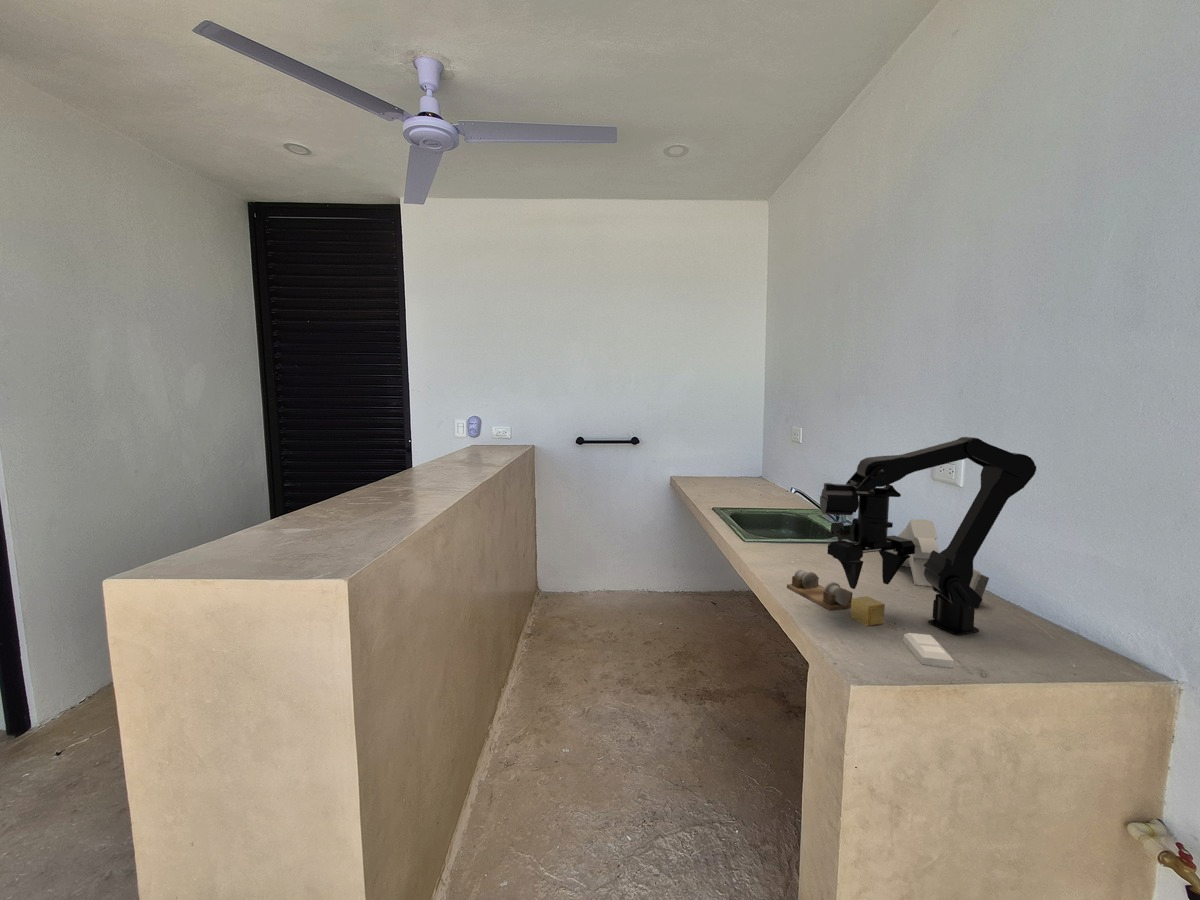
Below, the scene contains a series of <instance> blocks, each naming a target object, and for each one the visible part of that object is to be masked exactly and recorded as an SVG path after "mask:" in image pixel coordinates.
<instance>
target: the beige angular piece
mask: <svg viewBox="0 0 1200 900" xmlns="http://www.w3.org/2000/svg"><path fill="white" fill-rule="evenodd" d="M897 536H898V537H901V538H905V539H908V540H912V542H913V543H914V545H915V554H909V555H910V558H907V559H906V561H905V562H904V563H903V564H902V566H905V567H904V568H909V567H910V570H911V574H912V579H913V585H914V586H920V585H921V587H922V586H923V587H932V585H931V584H930V583H929V582H928V581H927V580H926V578H925V575H924V570H925V568H926V567H924V566H923V565H924V564H925V563H926V562H927V561H928V559H929V557H930V554H931V552H932V551H933V550H934V551H936V552H938V553H940V551H939V546H938V544H937V541H936V540H937V539H938V538H937V537H938V536H937V530H936V527H935V525H934V522H933V520H929V519H911V520H909V522H908V524H907V525H906V526H905V528H904V529H903V530H902V531H901V532H899V534H898V535H897Z"/></svg>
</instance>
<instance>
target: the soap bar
mask: <svg viewBox="0 0 1200 900" xmlns="http://www.w3.org/2000/svg"><path fill="white" fill-rule="evenodd" d="M903 643H904V644H905V645H906V647H907V648H908V649H909V650H910V651H911V653H912V654H913V655H914V656H915V658H916V659H917V658H918V659H917V660H918V661H919V662H920V663H922V664H925V665H924V666H930V665H932V667H939V668H941V667H942V668H948V669H954V663H955V662H954V661H955V660H954V659H953V658H952V657H951V655H950V653H949V652H948V651H947V650H946V649H944V648H943V646H942V645H941V644H940V643H939V642H938V641H937V640H936V639H935V638H934V636H932V635H931V634H924V633H915V632H914V633H913V632H908V633H905V634H903ZM922 664H921V665H922ZM926 664H927V665H926Z"/></svg>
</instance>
